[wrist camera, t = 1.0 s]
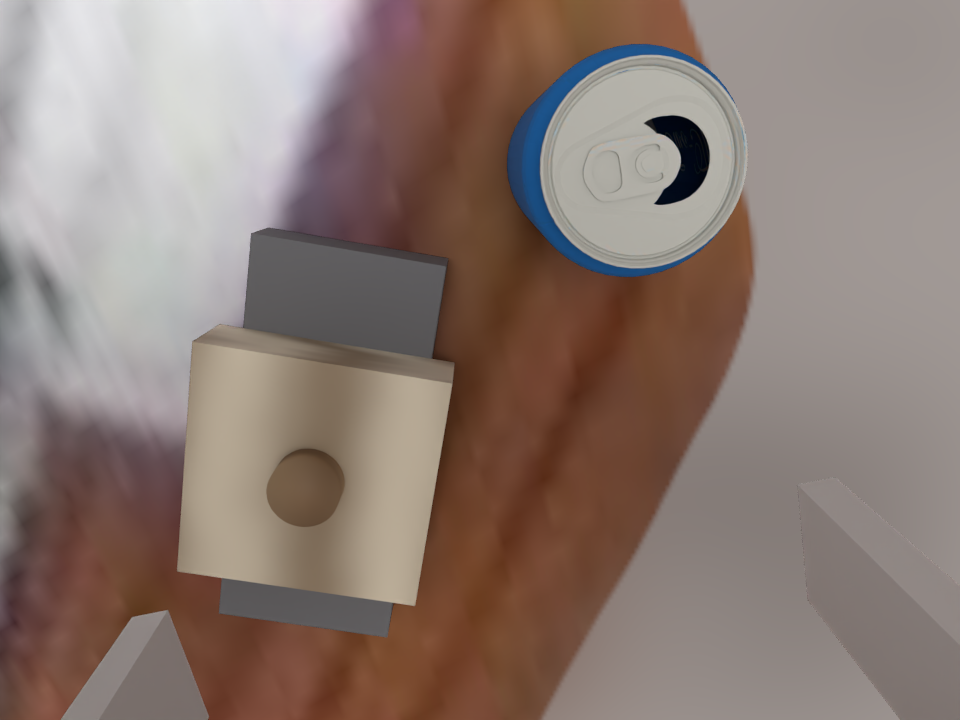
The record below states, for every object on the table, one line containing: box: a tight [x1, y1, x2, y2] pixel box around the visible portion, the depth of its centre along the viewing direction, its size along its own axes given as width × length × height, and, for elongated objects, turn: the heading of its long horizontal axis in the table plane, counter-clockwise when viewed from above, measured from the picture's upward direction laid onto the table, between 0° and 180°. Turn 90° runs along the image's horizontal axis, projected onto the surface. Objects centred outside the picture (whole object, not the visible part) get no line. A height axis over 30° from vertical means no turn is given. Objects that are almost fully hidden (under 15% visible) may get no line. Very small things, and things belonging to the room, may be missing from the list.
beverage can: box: [507, 44, 748, 277], centre depth 25 cm, size 6×6×12 cm
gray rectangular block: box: [219, 228, 448, 637], centre depth 33 cm, size 8×18×2 cm, turn 170°
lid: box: [177, 324, 455, 606], centre depth 30 cm, size 10×10×4 cm
